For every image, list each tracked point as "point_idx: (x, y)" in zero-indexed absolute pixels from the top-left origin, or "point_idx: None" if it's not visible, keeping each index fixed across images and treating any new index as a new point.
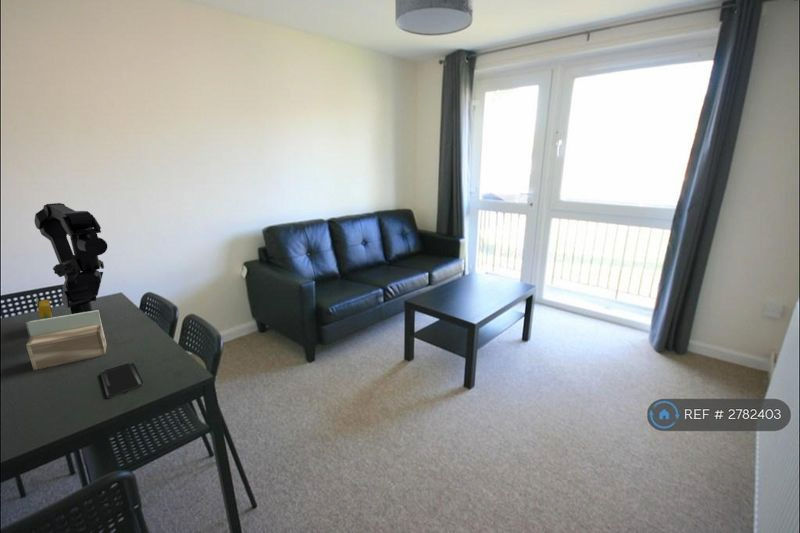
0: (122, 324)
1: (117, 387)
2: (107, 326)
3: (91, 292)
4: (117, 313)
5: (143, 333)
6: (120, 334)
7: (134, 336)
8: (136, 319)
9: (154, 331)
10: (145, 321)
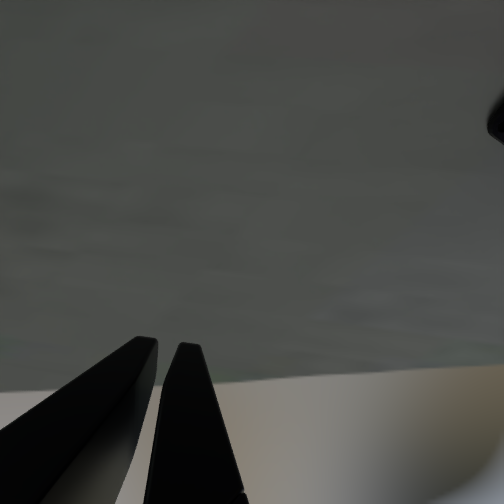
0: (254, 285)
1: None
2: (282, 215)
3: (83, 375)
4: (477, 289)
5: (48, 341)
6: (98, 255)
7: (29, 304)
8: (282, 349)
9: (48, 379)
10: (217, 374)
